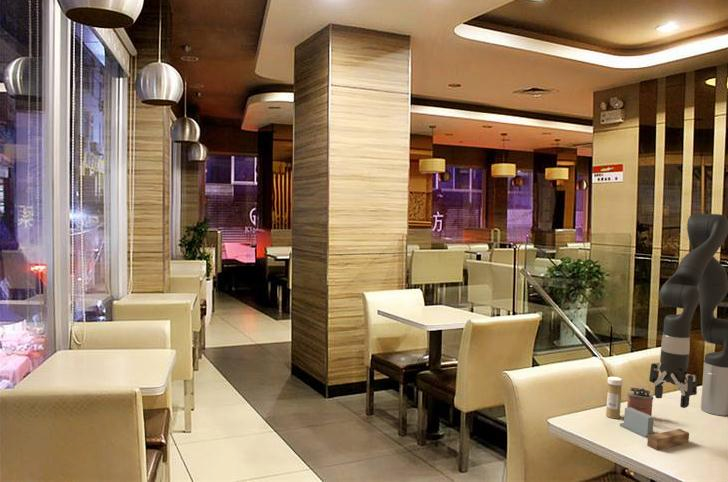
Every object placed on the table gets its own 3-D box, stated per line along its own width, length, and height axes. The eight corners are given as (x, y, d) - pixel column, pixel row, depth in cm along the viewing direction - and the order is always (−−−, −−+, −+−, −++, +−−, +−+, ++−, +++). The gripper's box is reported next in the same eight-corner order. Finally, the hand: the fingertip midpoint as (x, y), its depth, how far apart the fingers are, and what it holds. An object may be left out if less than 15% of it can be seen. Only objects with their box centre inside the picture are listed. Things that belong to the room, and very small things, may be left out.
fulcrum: (630, 423, 192) (631, 406, 191) (656, 435, 183) (658, 417, 182) (619, 425, 190) (620, 408, 189) (645, 437, 181) (646, 419, 180)
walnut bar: (678, 440, 181) (679, 428, 180) (688, 444, 178) (689, 432, 177) (647, 446, 175) (648, 435, 175) (656, 451, 172) (657, 439, 172)
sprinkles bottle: (622, 417, 197) (625, 379, 196) (614, 419, 195) (617, 381, 194) (610, 413, 201) (613, 375, 200) (602, 415, 199) (605, 377, 198)
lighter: (651, 416, 199) (653, 388, 198) (652, 419, 196) (654, 391, 195) (625, 412, 202) (627, 384, 201) (626, 416, 199) (628, 387, 198)
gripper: (705, 355, 169) (701, 409, 170) (663, 343, 182) (659, 393, 183) (688, 357, 166) (683, 412, 167) (646, 345, 179) (642, 396, 180)
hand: (670, 402), depth 175 cm, fingers open, 8 cm apart
